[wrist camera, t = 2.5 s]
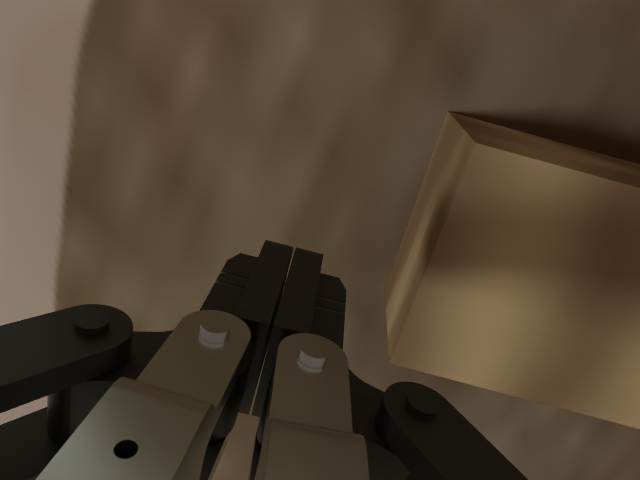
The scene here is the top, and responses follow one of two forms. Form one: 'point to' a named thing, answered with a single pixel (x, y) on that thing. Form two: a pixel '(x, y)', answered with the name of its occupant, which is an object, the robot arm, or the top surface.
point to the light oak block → (523, 271)
